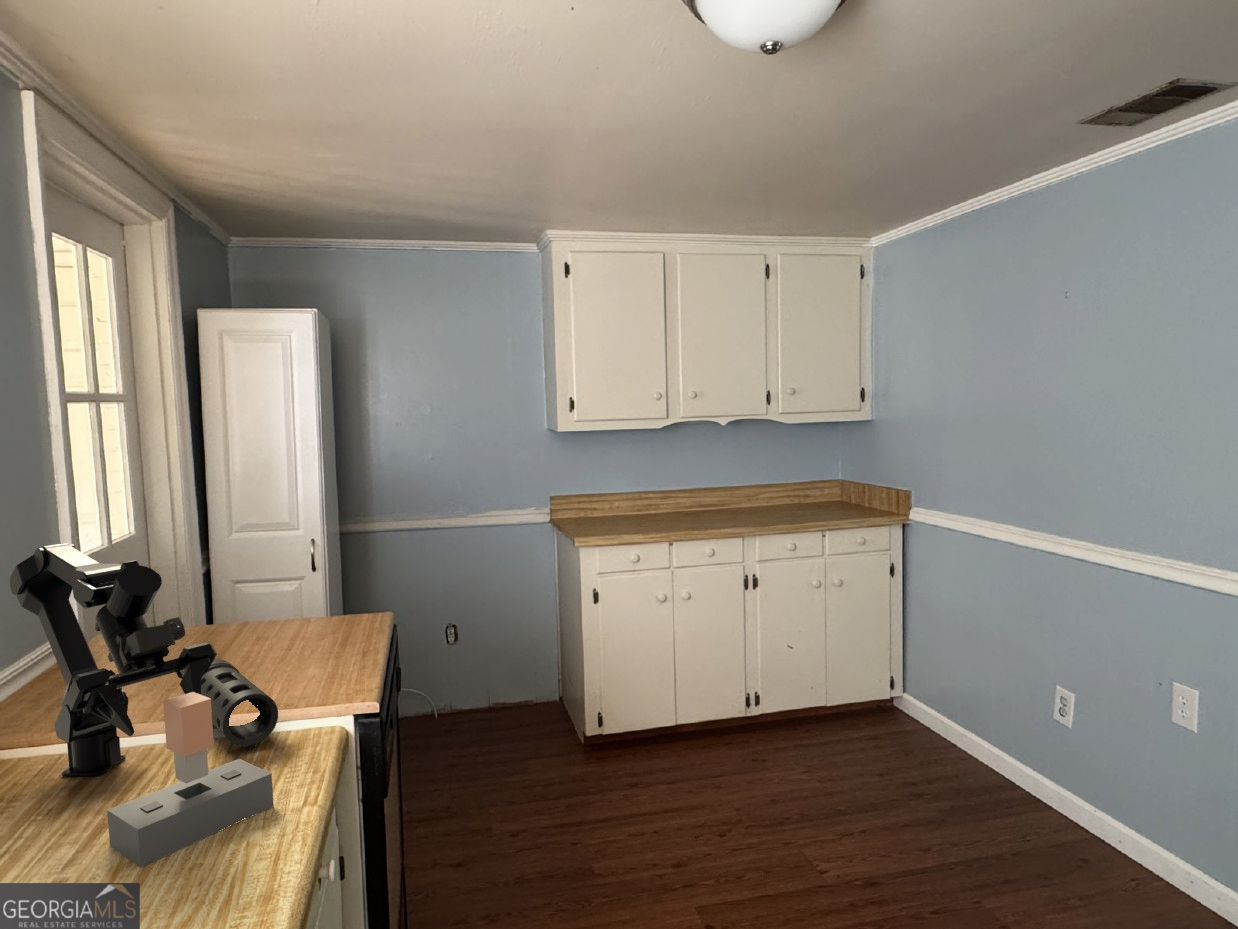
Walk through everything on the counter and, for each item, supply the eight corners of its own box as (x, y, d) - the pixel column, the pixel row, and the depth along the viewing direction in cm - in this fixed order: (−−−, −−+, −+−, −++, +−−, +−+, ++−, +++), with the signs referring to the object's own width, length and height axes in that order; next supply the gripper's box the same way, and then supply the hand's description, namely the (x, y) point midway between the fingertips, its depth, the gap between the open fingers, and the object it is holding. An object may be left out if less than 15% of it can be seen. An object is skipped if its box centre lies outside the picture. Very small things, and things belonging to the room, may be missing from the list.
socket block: (109, 846, 103) (107, 808, 103) (241, 790, 118) (238, 757, 117) (140, 867, 98) (137, 828, 97) (273, 806, 112) (271, 772, 112)
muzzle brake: (223, 760, 128) (219, 700, 128) (183, 714, 149) (179, 662, 149) (282, 743, 135) (278, 685, 134) (235, 701, 156) (232, 651, 155)
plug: (168, 777, 107) (163, 700, 106) (197, 766, 110) (193, 691, 109) (186, 787, 104) (180, 708, 103) (215, 775, 107) (210, 698, 107)
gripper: (68, 619, 105) (109, 714, 99) (207, 591, 120) (248, 673, 114) (50, 665, 110) (88, 758, 104) (185, 632, 125) (224, 713, 120)
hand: (167, 723), depth 111 cm, fingers open, 9 cm apart
